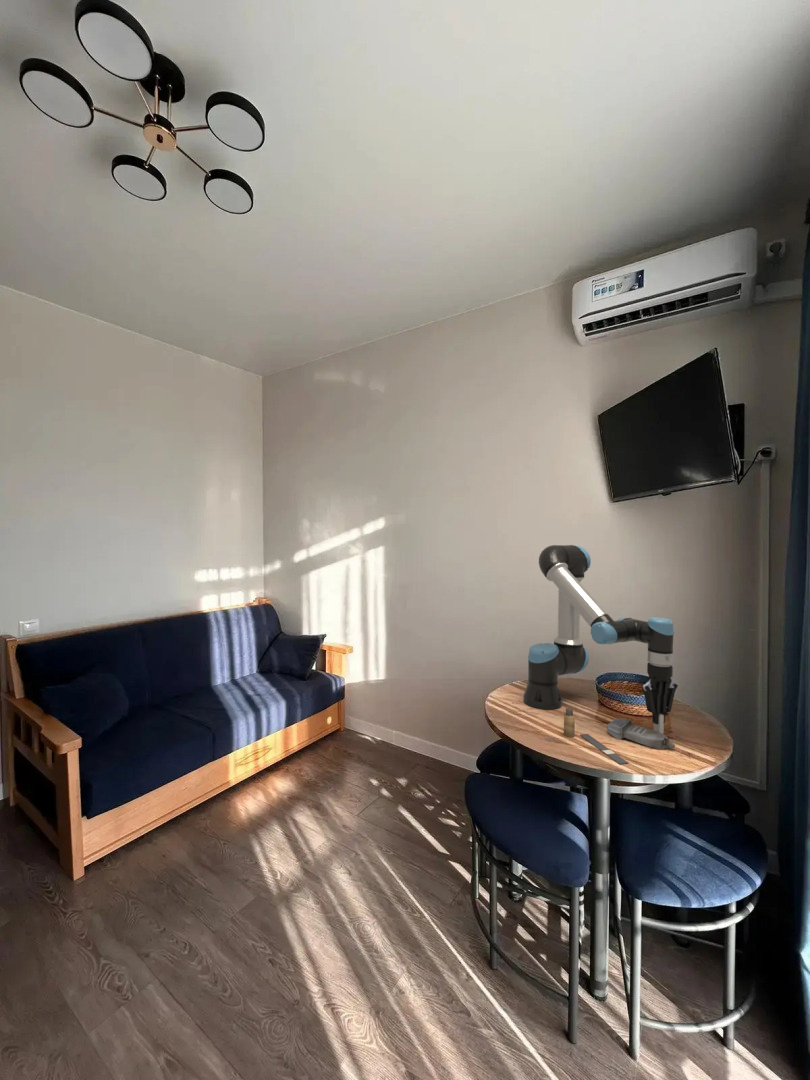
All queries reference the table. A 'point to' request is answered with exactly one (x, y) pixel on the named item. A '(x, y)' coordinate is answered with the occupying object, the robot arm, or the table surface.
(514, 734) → the table surface
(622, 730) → the handheld device
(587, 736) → the strip
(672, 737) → the table surface
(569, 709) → the tan bottle
